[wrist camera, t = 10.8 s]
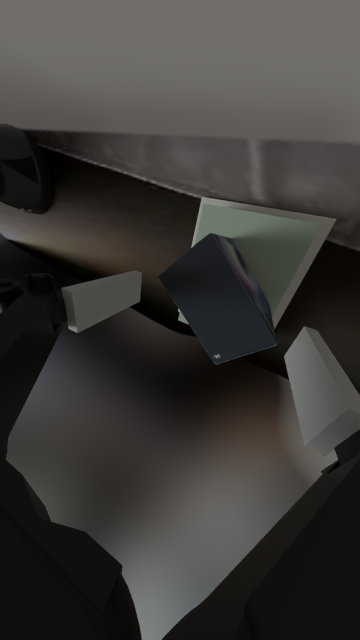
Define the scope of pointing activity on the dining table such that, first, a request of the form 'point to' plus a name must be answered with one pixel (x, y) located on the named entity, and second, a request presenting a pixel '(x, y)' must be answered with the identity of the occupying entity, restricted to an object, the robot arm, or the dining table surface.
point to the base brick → (262, 245)
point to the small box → (220, 299)
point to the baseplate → (320, 236)
